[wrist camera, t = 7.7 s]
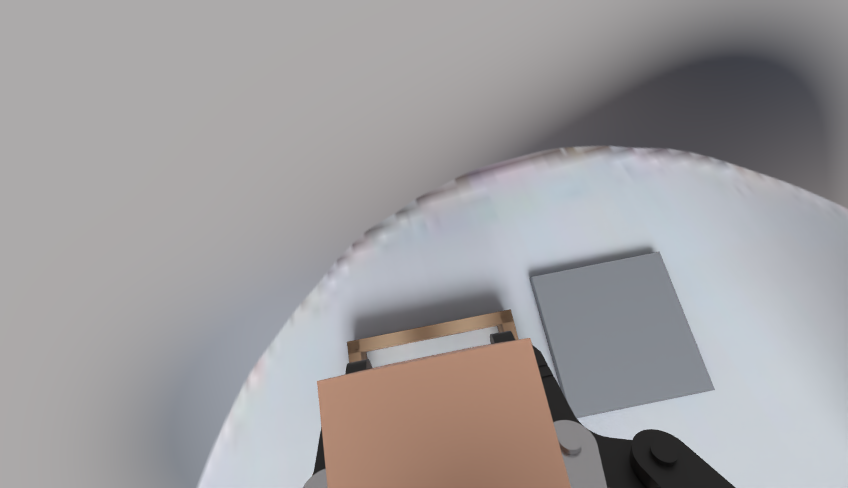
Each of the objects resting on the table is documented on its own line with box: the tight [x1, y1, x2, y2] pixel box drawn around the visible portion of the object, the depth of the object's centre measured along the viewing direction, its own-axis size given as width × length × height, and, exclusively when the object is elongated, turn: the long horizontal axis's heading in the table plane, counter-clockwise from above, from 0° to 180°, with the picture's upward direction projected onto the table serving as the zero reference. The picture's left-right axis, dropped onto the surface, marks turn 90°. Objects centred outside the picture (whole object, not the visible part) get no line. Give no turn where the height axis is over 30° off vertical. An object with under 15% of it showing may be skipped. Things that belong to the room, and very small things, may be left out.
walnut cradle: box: [347, 309, 518, 363], centre depth 30 cm, size 14×9×2 cm, turn 101°
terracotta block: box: [317, 338, 571, 488], centre depth 12 cm, size 4×4×11 cm
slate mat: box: [530, 252, 715, 418], centre depth 31 cm, size 12×12×1 cm
